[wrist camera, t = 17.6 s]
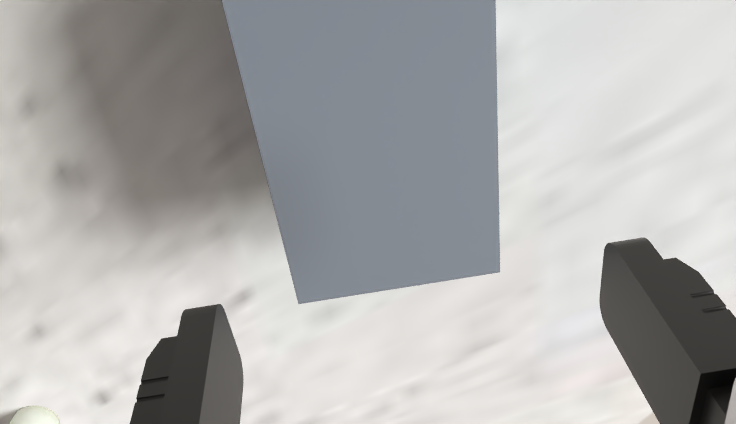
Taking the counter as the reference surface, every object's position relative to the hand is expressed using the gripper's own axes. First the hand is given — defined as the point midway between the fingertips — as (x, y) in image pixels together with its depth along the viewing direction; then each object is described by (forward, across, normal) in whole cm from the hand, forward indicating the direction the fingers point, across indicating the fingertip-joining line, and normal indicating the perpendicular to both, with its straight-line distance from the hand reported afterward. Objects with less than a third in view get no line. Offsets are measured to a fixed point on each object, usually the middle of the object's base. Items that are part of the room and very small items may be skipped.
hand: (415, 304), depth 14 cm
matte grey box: (+16, 0, 0) cm, 16 cm away
